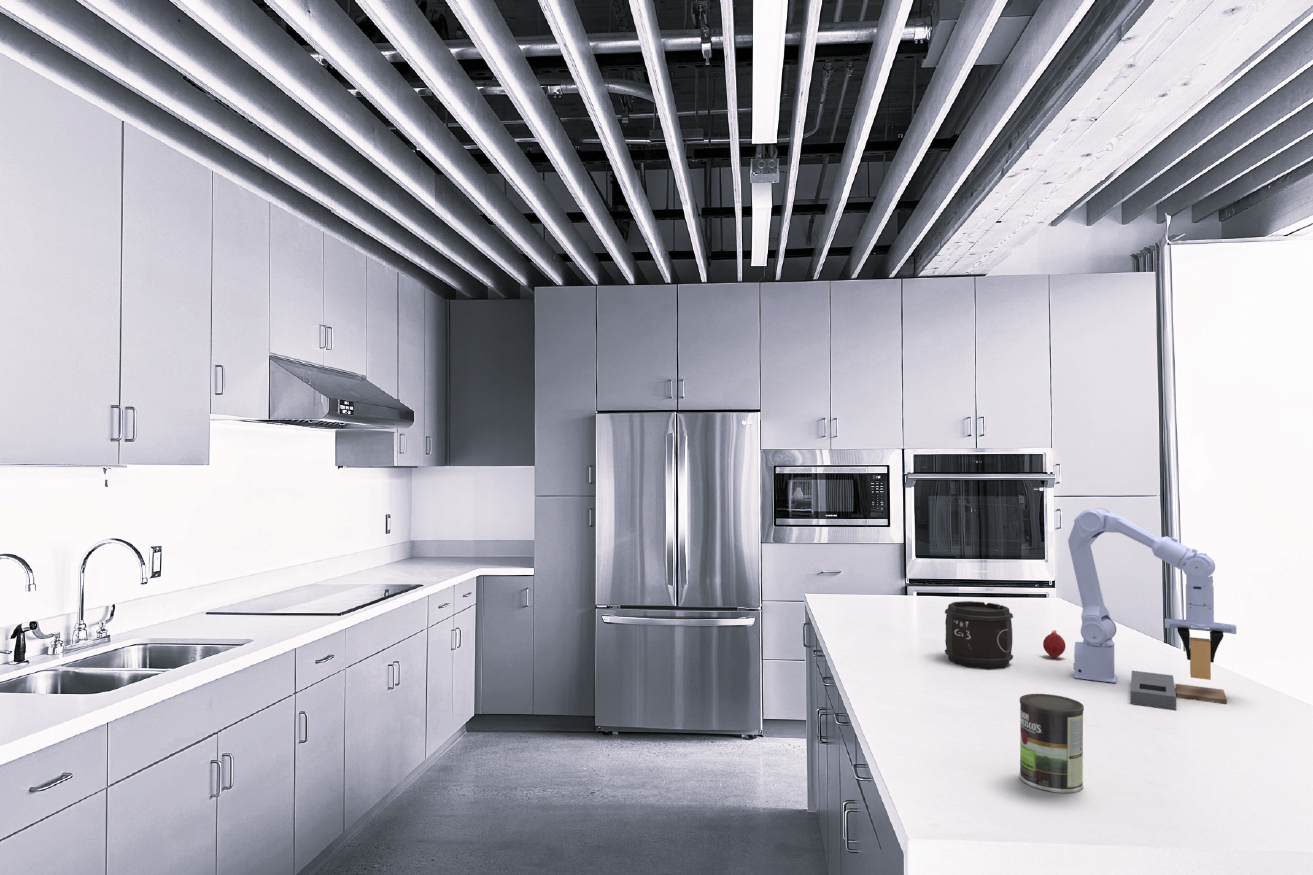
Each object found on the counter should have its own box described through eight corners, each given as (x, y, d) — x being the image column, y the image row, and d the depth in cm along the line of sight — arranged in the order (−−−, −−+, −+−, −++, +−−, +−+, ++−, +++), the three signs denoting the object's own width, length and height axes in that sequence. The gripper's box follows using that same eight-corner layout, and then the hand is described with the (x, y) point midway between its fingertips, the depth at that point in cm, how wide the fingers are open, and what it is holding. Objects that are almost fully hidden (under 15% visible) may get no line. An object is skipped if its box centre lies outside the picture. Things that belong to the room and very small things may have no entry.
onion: (1068, 661, 237) (1067, 632, 237) (1046, 659, 238) (1046, 631, 238) (1062, 656, 242) (1062, 628, 242) (1041, 655, 243) (1040, 627, 244)
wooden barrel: (1010, 657, 241) (1010, 602, 241) (1015, 672, 224) (1015, 613, 224) (944, 652, 247) (944, 598, 247) (944, 666, 230) (944, 608, 230)
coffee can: (1039, 794, 142) (1039, 710, 143) (1008, 771, 152) (1008, 693, 153) (1096, 792, 143) (1096, 709, 143) (1062, 770, 153) (1062, 692, 154)
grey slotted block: (1130, 703, 196) (1130, 690, 196) (1131, 682, 215) (1131, 670, 215) (1176, 709, 191) (1175, 696, 191) (1173, 687, 210) (1172, 675, 210)
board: (1176, 697, 201) (1176, 693, 201) (1175, 687, 210) (1175, 683, 210) (1226, 703, 196) (1226, 699, 196) (1223, 693, 205) (1223, 689, 205)
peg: (1190, 677, 202) (1190, 640, 202) (1190, 673, 206) (1189, 637, 206) (1210, 679, 200) (1210, 642, 200) (1209, 676, 204) (1209, 638, 204)
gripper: (1165, 603, 204) (1165, 659, 203) (1237, 609, 196) (1238, 667, 196) (1164, 599, 210) (1164, 654, 209) (1234, 605, 202) (1235, 661, 202)
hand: (1200, 660), depth 203 cm, fingers closed on peg, 4 cm apart
